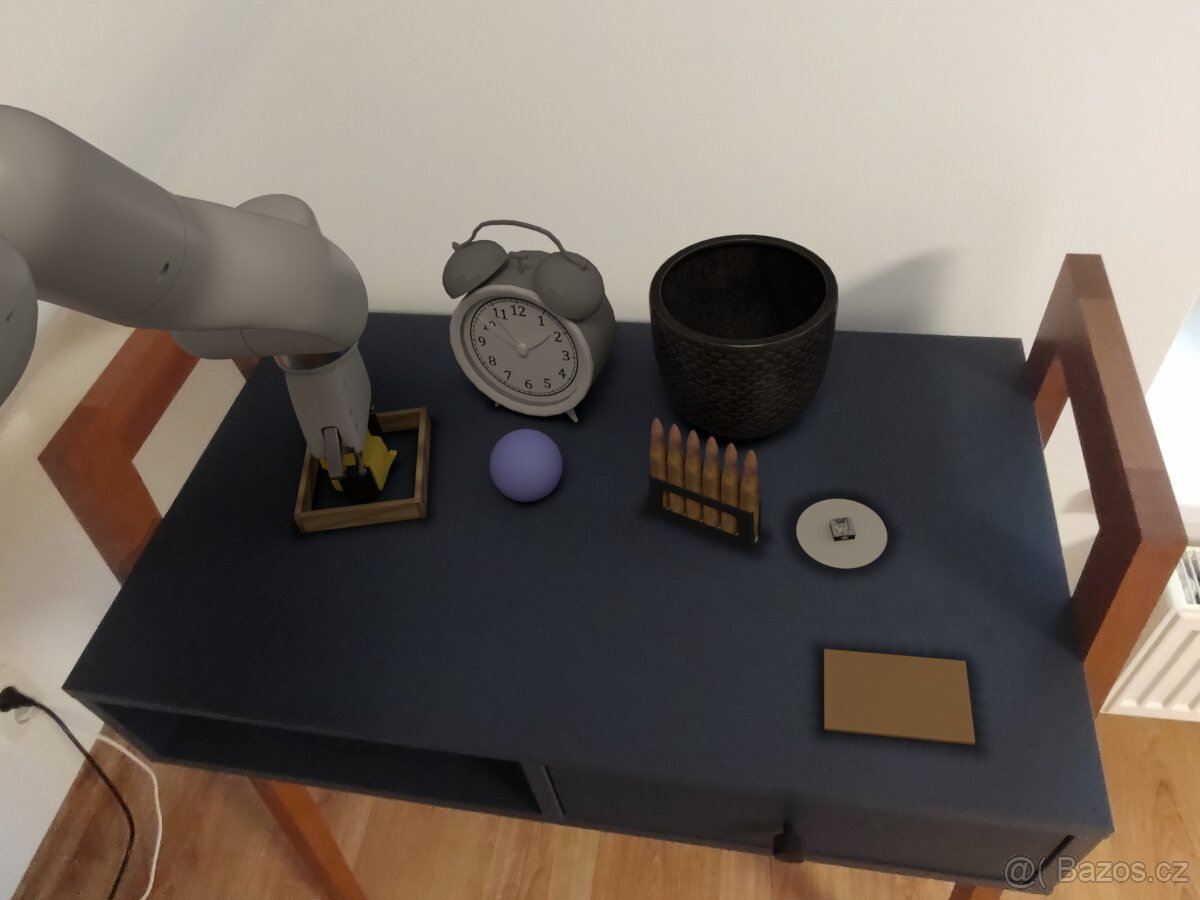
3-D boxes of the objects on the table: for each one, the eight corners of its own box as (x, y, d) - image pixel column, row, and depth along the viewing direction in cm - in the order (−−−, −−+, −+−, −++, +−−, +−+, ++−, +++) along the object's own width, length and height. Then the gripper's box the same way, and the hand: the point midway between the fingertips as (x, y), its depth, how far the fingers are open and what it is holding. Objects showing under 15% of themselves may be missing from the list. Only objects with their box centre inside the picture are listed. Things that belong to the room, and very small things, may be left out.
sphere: (505, 461, 95) (493, 411, 90) (572, 465, 94) (564, 415, 89) (488, 514, 90) (474, 465, 85) (559, 519, 89) (549, 470, 84)
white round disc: (806, 572, 82) (807, 563, 81) (788, 503, 88) (789, 494, 87) (897, 563, 82) (899, 554, 81) (874, 494, 87) (875, 485, 86)
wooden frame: (425, 517, 91) (420, 501, 89) (301, 533, 91) (293, 517, 89) (431, 422, 100) (426, 406, 98) (318, 437, 100) (311, 421, 98)
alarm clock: (460, 410, 101) (411, 237, 85) (494, 359, 106) (454, 187, 90) (602, 439, 96) (578, 261, 80) (630, 384, 101) (613, 206, 85)
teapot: (413, 454, 97) (401, 419, 93) (400, 497, 93) (387, 461, 89) (339, 454, 98) (324, 419, 94) (323, 496, 94) (307, 461, 90)
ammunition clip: (649, 511, 89) (641, 421, 80) (658, 497, 90) (651, 407, 81) (753, 551, 84) (757, 461, 76) (762, 536, 85) (766, 446, 77)
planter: (818, 483, 89) (832, 355, 78) (641, 463, 93) (630, 339, 81) (831, 364, 100) (845, 237, 89) (673, 351, 104) (666, 228, 93)
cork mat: (974, 745, 70) (975, 742, 70) (823, 730, 72) (824, 727, 72) (964, 663, 75) (965, 660, 74) (823, 651, 77) (823, 648, 76)
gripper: (284, 280, 88) (340, 416, 101) (252, 406, 76) (320, 542, 89) (363, 270, 88) (408, 407, 101) (343, 395, 76) (398, 532, 89)
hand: (367, 469), depth 95 cm, fingers open, 6 cm apart
